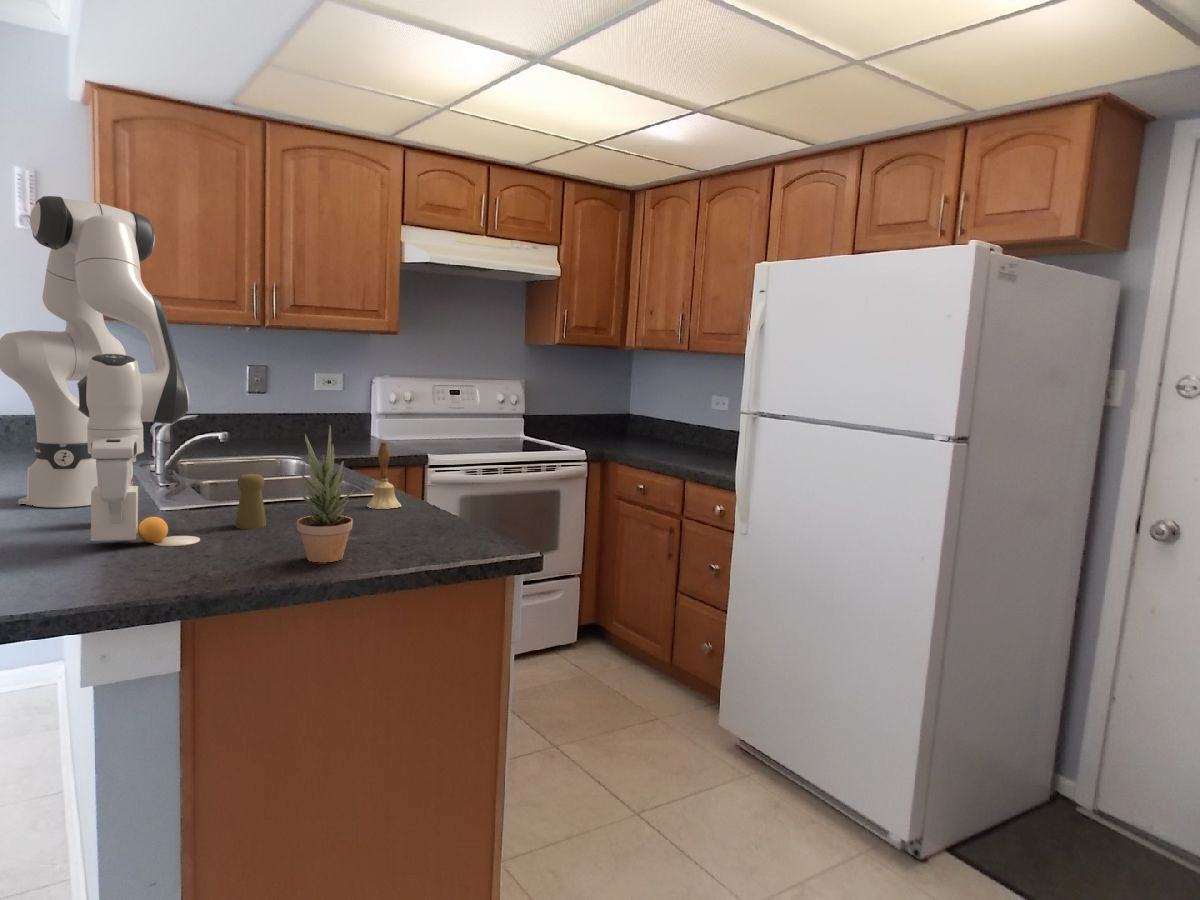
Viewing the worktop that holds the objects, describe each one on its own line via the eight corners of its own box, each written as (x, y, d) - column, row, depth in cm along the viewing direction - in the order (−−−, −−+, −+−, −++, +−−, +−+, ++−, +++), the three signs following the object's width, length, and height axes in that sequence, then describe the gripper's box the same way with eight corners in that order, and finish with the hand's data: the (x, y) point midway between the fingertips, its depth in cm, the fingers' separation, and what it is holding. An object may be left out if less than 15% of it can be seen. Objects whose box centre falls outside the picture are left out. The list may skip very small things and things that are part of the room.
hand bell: (382, 511, 192) (383, 444, 190) (359, 506, 196) (359, 441, 195) (408, 507, 199) (409, 442, 197) (385, 502, 203) (386, 439, 202)
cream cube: (94, 532, 151) (94, 486, 150) (137, 531, 154) (138, 485, 154) (90, 540, 145) (91, 492, 144) (135, 539, 148) (136, 492, 147)
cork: (257, 521, 175) (257, 471, 174) (272, 526, 171) (272, 474, 170) (230, 525, 170) (229, 473, 169) (244, 530, 167) (244, 477, 165)
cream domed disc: (153, 538, 156) (153, 537, 156) (199, 535, 160) (199, 534, 160) (152, 547, 149) (152, 546, 149) (200, 544, 153) (200, 543, 153)
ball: (138, 514, 153) (168, 514, 156) (138, 540, 154) (168, 539, 156) (137, 519, 149) (168, 519, 151) (136, 546, 150) (167, 545, 152)
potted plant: (298, 567, 140) (298, 426, 137) (295, 554, 149) (295, 421, 146) (358, 564, 144) (359, 426, 141) (351, 551, 153) (352, 421, 150)
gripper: (100, 437, 156) (102, 508, 157) (90, 450, 138) (92, 530, 139) (138, 437, 159) (140, 506, 160) (132, 449, 141) (134, 527, 142)
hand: (117, 517), depth 150 cm, fingers closed on cream cube, 7 cm apart
